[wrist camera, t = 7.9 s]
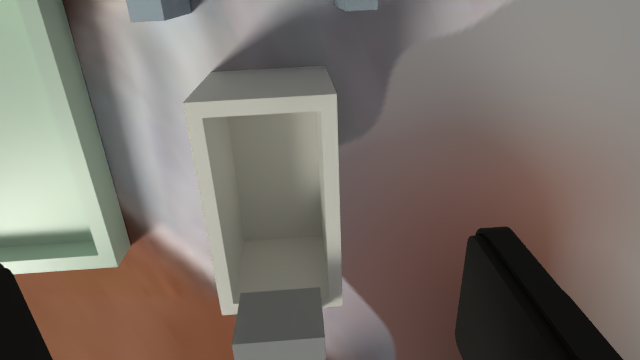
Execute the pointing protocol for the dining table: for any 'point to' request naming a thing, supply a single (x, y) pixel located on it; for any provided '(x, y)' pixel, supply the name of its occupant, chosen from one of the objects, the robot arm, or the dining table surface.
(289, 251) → the box
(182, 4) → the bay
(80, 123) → the tray
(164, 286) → the dining table surface
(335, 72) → the dining table surface
